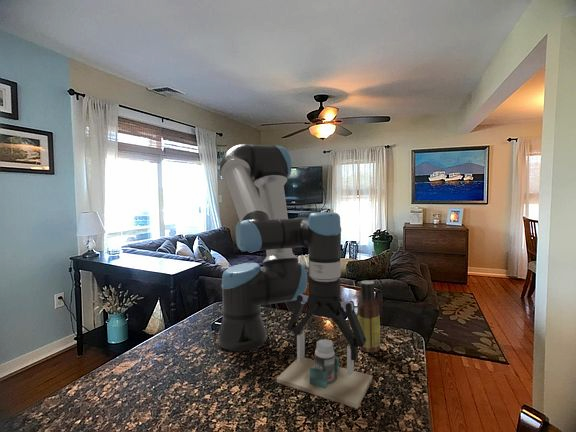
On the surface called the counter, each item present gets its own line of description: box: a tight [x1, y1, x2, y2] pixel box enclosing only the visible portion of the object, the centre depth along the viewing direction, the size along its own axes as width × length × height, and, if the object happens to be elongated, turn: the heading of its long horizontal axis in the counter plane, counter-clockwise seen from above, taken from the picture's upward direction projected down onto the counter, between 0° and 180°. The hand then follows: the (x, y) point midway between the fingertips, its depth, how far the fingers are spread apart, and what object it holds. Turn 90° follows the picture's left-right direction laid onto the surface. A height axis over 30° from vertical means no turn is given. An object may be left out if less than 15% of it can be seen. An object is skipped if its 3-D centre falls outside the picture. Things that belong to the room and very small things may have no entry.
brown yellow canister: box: [357, 280, 381, 354], centre depth 93 cm, size 7×6×20 cm
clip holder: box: [276, 355, 373, 410], centre depth 77 cm, size 20×12×4 cm, turn 61°
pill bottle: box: [314, 339, 336, 381], centre depth 77 cm, size 5×5×8 cm
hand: (324, 365), depth 77 cm, fingers open, 12 cm apart
